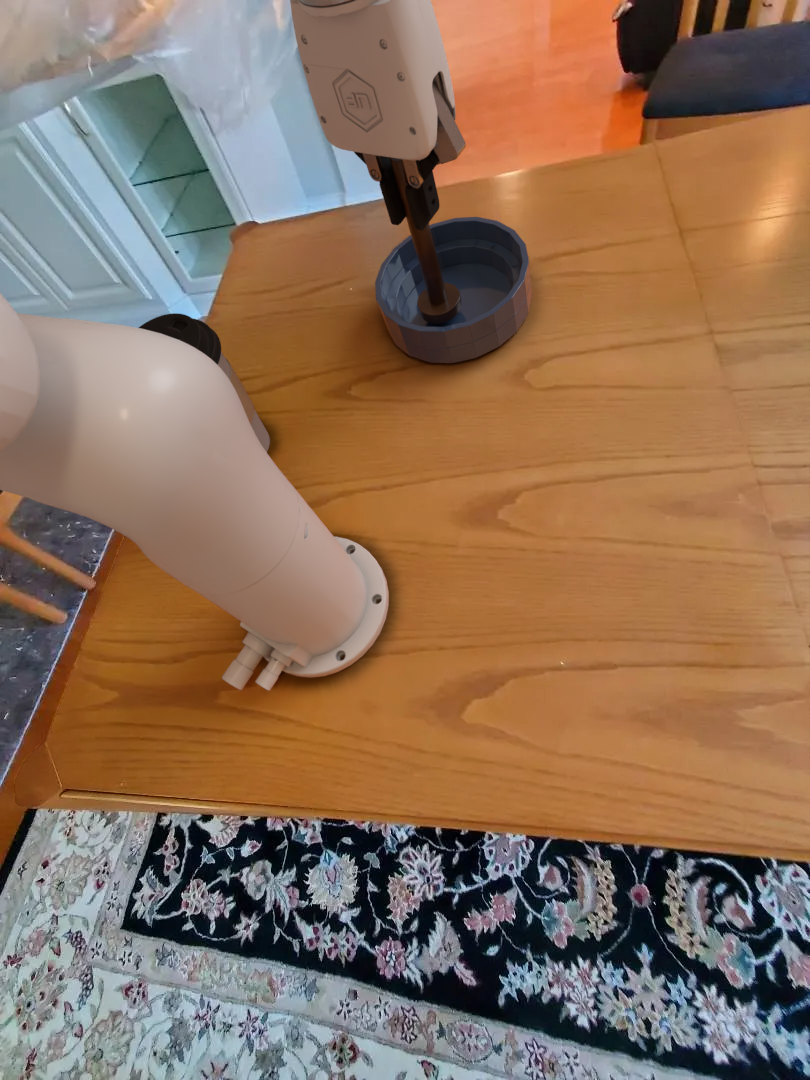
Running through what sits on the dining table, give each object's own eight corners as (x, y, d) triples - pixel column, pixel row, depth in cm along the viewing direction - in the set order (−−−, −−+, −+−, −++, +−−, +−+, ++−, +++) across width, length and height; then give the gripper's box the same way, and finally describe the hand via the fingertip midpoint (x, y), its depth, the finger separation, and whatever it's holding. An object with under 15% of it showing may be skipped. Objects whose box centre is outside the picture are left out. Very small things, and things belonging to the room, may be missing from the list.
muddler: (447, 328, 62) (408, 175, 48) (411, 317, 64) (363, 168, 50) (469, 296, 63) (437, 139, 49) (433, 287, 65) (392, 133, 51)
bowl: (485, 384, 60) (477, 348, 56) (362, 344, 67) (346, 309, 63) (558, 273, 64) (556, 232, 60) (435, 245, 71) (425, 206, 66)
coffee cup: (292, 408, 65) (219, 299, 52) (276, 486, 61) (193, 389, 48) (213, 415, 68) (125, 313, 55) (193, 490, 64) (92, 399, 51)
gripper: (222, -11, 41) (323, 230, 57) (420, -9, 34) (472, 264, 50) (287, -75, 43) (367, 176, 59) (487, -84, 36) (517, 202, 52)
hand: (415, 215), depth 55 cm, fingers closed on muddler
